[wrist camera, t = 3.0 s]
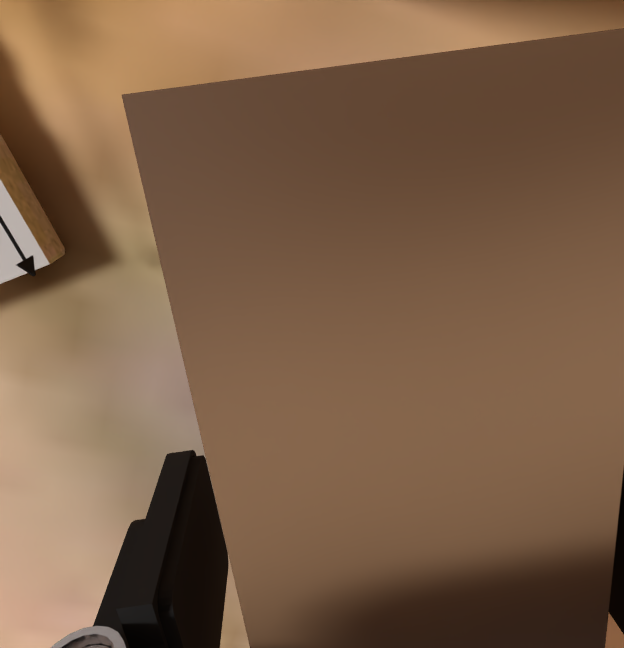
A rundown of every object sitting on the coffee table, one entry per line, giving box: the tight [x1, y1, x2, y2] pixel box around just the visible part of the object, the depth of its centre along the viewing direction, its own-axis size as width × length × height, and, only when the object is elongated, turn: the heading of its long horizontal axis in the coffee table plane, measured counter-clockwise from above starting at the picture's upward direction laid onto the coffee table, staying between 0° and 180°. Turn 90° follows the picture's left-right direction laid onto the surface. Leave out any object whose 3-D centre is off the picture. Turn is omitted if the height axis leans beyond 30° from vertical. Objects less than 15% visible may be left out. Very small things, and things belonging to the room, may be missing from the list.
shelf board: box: [122, 28, 624, 648], centre depth 11 cm, size 16×5×6 cm, turn 7°
